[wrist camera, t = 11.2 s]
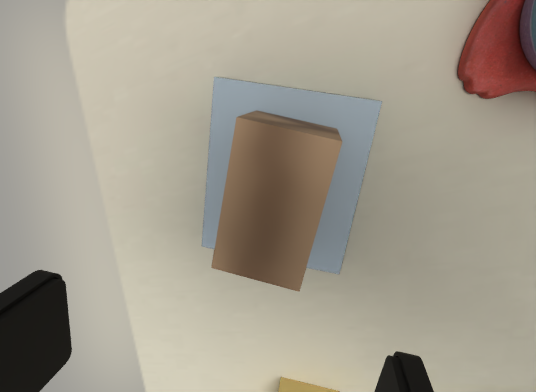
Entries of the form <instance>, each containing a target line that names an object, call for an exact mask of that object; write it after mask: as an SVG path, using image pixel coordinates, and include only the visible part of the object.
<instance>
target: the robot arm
mask: <svg viewBox="0 0 536 392" xmlns="http://www.w3.org/2000/svg"><path fill="white" fill-rule="evenodd" d="M71 350H72V348H71V336H70V326H69V316H68V304H67V293H66V284H65V282H64V281H63V280H62V277H61V275H59V274H56V273H52V272H48V271H43V270H37V271H35V272H33V273H31V274H30V275H28V276H27V277H25V278H23V279H22V280H20V281H19V282H17V283H16V284H14V285H12V286H11V287H9V288H8V289H6V290H5V291H3V292H2V293H0V392H39V391H40V390H41V389H42V388H43V387H44V386H45V385H46V384H47V383H48V382H49V381H50V380H51V379H52V378H53V376H54V375H55V374H56V373H57V372H58V371H59V370H60V369H61V368H62V367H63V365H65V364H66V362H67V361H68V359H69V358H70V355H71V352H72V351H71ZM375 392H434V391H433V388H432V386H431V383H430V380H429V378H428V375H427V372H426V369H425V367H424V364H423V361H422V359H421V358H420V357H419V356H416V355H411V354H407V353H402V352H398V351H396V352H395V353H394V355H393V356H389V355H388V356H387V358H386V360H385V363H384V366H383V369H382V372H381V375H380V377H379V380H378V383H377V386H376V389H375Z"/></svg>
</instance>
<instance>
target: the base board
mask: <svg viewBox="0 0 536 392" xmlns="http://www.w3.org/2000/svg"><path fill="white" fill-rule="evenodd" d="M381 104H382V101H377V100H370V99H364V98H357V97H350V96H343V95H336V94H329V93H322V92H316V91H309V90H302V89H295V88H288V87H281V86H274V85H267V84H261V83H254V82H247V81H240V80H233V79H226V78H219V77H214V87H213V100H212V114H211V128H210V141H209V155H208V168H207V182H206V196H205V209H204V223H203V237H202V247H207V248H212V249H215V243H216V237H217V231H218V225H219V219H220V213H221V207H222V201H223V195H224V189H225V183H226V177H227V171H228V165H229V159H230V153H231V147H232V141H233V135H234V129H235V123H236V117H238V116H241V115H244V114H247V113H250V112H253V111H256V110H258V111H262V112H267V113H271V114H275V115H280V116H284V117H288V118H293V119H297V120H302V121H306V122H310V123H315V124H319V125H323V126H328V127H332V128H337V129H338V132H339V134H340V137H341V139H342V141H343V142H342V145H341V149H340V152H339V156H338V159H337V163H336V166H335V170H334V173H333V177H332V180H331V184H330V187H329V190H328V194H327V197H326V201H325V204H324V208H323V211H322V215H321V218H320V222H319V225H318V229H317V232H316V236H315V239H314V242H313V246H312V249H311V253H310V256H309V260H308V263H307V267H306V268H311V269H316V270H320V271H325V272H330V273H335V274H339V273H340V269H341V265H342V261H343V257H344V253H345V249H346V245H347V241H348V237H349V233H350V229H351V225H352V221H353V217H354V213H355V209H356V205H357V201H358V197H359V193H360V189H361V185H362V181H363V177H364V173H365V169H366V165H367V160H368V156H369V152H370V148H371V144H372V140H373V136H374V132H375V128H376V124H377V120H378V116H379V112H380V108H381Z"/></svg>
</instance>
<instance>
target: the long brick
mask: <svg viewBox="0 0 536 392" xmlns="http://www.w3.org/2000/svg"><path fill="white" fill-rule="evenodd" d="M342 142H343V141H342V139H341V137H340V134H339V132H338V129H337V128H332V127H328V126H323V125H319V124H315V123H310V122H306V121H302V120H297V119H293V118H288V117H284V116H280V115H275V114H271V113H267V112H262V111H258V110H256V111H253V112H250V113H247V114H244V115H241V116H238V117H236V123H235V129H234V135H233V141H232V147H231V153H230V159H229V165H228V171H227V177H226V183H225V189H224V195H223V201H222V207H221V213H220V219H219V225H218V231H217V237H216V243H215V249H214V255H213V261H212V267H211V268H214V269H218V270H222V271H225V272H229V273H233V274H236V275H240V276H244V277H247V278H251V279H255V280H258V281H262V282H266V283H269V284H273V285H277V286H280V287H284V288H288V289H291V290H295V291H300V288H301V284H302V281H303V277H304V274H305V270H306V267H307V263H308V260H309V256H310V253H311V249H312V246H313V242H314V239H315V236H316V232H317V229H318V225H319V222H320V218H321V215H322V211H323V208H324V204H325V201H326V197H327V194H328V190H329V187H330V184H331V180H332V177H333V173H334V170H335V166H336V163H337V159H338V156H339V152H340V149H341V145H342Z"/></svg>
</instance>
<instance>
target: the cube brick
mask: <svg viewBox="0 0 536 392" xmlns="http://www.w3.org/2000/svg"><path fill="white" fill-rule="evenodd" d="M278 392H339V391H336V390H332V389H328V388H324V387H320V386H316V385H312V384H308V383H304V382H300V381H295V380H291V379H287V378H283V377H281V380H280V385H279V389H278Z"/></svg>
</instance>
